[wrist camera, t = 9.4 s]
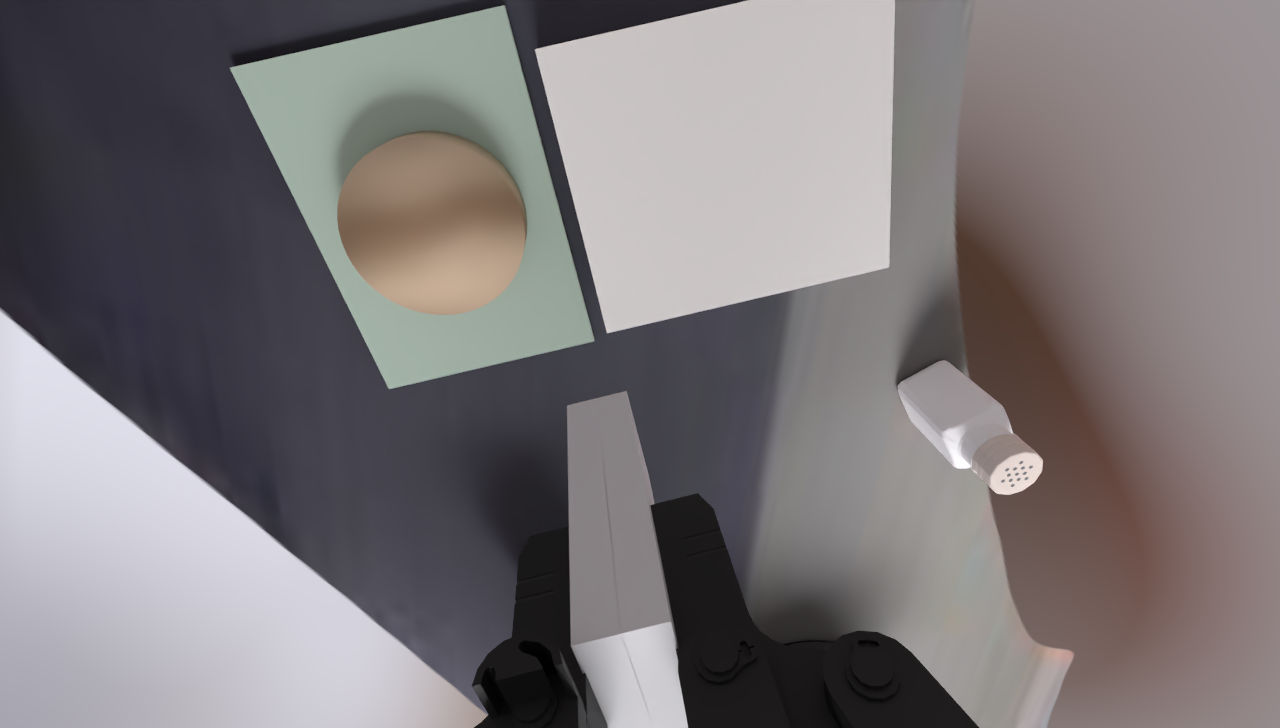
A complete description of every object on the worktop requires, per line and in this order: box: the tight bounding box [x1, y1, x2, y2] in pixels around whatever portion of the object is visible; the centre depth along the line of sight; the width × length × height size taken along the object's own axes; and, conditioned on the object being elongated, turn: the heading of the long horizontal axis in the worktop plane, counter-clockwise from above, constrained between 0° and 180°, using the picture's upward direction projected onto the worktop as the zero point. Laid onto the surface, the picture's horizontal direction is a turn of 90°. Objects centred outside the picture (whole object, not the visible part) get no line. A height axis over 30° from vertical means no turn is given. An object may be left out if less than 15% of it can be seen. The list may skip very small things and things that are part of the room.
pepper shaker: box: [898, 360, 1043, 495], centre depth 37 cm, size 4×4×10 cm
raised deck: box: [535, 0, 895, 333], centre depth 30 cm, size 14×16×4 cm
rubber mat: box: [230, 5, 594, 389], centre depth 32 cm, size 18×13×1 cm
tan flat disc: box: [337, 131, 527, 315], centre depth 30 cm, size 9×9×2 cm
